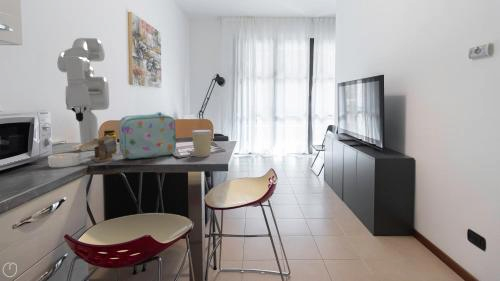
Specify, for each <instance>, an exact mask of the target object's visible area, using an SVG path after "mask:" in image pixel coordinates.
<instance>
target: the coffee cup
mask: <svg viewBox="0 0 500 281" xmlns="http://www.w3.org/2000/svg"><path fill="white" fill-rule="evenodd" d="M191 134H192V135H191V136H192V146H193V153H194V156H195V157H197V158H199V157H200V158H201V157H202V158H203V157H210V156H211V148H212V131H211V129H198V130H197V129H196V130H192V132H191Z"/></svg>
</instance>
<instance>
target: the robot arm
mask: <svg viewBox="0 0 500 281" xmlns="http://www.w3.org/2000/svg"><path fill="white" fill-rule="evenodd" d="M104 50H105V49H104V46H103V44H102V41H101V40H99V39H98V38H95V37H94V38H93V37H88V38H87V37H79V38H77V39H75V40H74V41H73V42H72V46H71V47H70V48H67V49H66V50H63V51H61V52H60V53H59V54H58V56H57V57H58V58H57V60H56V61H57V68H58V70H59V71H60V72H62V73H66V79H67V80H66V81H67V85H66V86H65V105H66V106H65V107H66V110H68V111H69V110H70V111H72V112H74V113H75V120H76V121H77V122H78V127H79V137H80V138H79V139H80V144H82V145H83V144H86V143H89V142H91V141H94V140H93V139H98V138H99V137H100V136H99V126H98V118H97V115H96V114H95V113H94V112H93V111H104V110H108V109H109V107H110V89H109V82H108V79H107V78H106V77H105V76H95V70H94V69H93V67H92V66H91V62H97V63H98V62H103V61H104V59H105V57H106V56H105V51H104ZM88 151H94V148H92V149H89V150H88Z"/></svg>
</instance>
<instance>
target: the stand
mask: <svg viewBox="0 0 500 281" xmlns="http://www.w3.org/2000/svg"><path fill="white" fill-rule="evenodd" d="M98 139H99V138H98ZM93 140H97V139H93ZM98 144H99V146H97V147H95V148H94V150H93V151H94V152H93V153H94V157H91V158H90V159H91V160H92V161H94V162H96V163H105V161H106V162H111V161H115V158H113V154H112V153H105V144H104V140H98Z"/></svg>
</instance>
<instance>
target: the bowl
mask: <svg viewBox="0 0 500 281" xmlns="http://www.w3.org/2000/svg"><path fill="white" fill-rule="evenodd" d="M58 156H62V157H58ZM56 157H58V158H56ZM47 161H48V167H49V168H56V169H57V168H67V167H68V168H69V167H74V166H79V165H80V164H82V158H81V153H80V152H79V153H78V152H68V153H67V152H64V153H56V154H51V155H48V156H47Z"/></svg>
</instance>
